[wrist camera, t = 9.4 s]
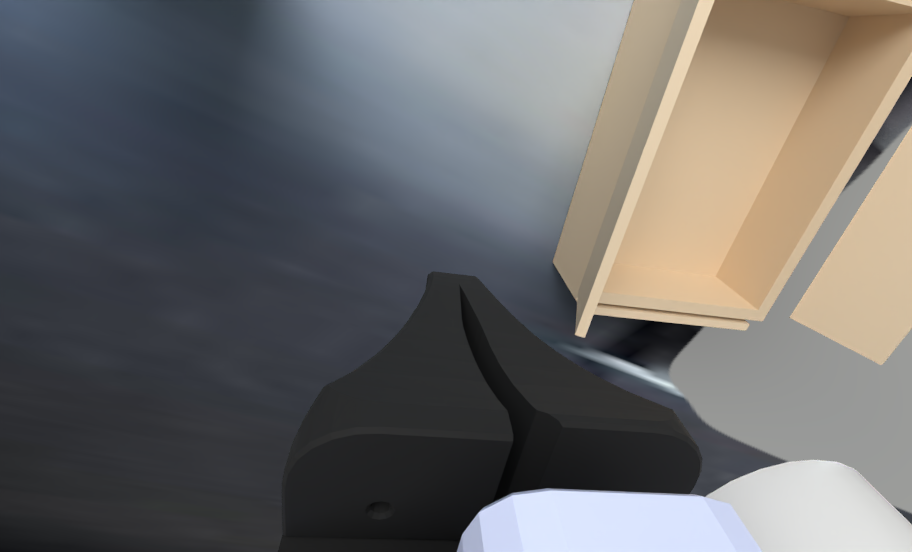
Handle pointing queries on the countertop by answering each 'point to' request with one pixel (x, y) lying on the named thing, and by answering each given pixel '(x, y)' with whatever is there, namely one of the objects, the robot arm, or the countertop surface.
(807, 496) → the cylinder
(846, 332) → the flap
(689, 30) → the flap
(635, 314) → the carton
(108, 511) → the countertop surface
